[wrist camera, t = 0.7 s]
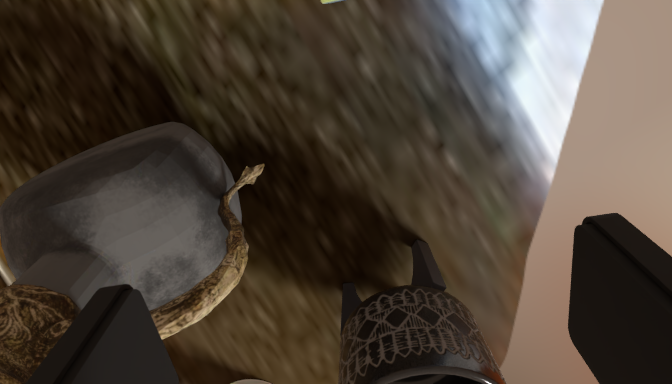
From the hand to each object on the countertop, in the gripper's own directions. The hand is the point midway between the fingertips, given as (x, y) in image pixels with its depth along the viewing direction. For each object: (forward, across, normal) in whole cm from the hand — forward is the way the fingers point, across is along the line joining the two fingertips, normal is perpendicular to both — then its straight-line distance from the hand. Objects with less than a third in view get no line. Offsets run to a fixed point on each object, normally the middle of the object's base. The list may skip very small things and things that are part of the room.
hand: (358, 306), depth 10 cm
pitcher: (+31, +15, +7) cm, 35 cm away
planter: (+31, -2, +23) cm, 39 cm away
